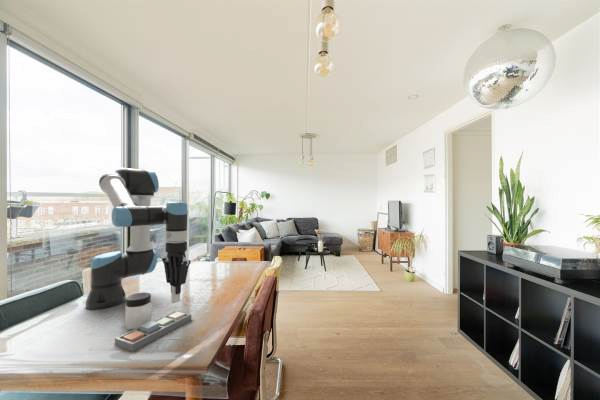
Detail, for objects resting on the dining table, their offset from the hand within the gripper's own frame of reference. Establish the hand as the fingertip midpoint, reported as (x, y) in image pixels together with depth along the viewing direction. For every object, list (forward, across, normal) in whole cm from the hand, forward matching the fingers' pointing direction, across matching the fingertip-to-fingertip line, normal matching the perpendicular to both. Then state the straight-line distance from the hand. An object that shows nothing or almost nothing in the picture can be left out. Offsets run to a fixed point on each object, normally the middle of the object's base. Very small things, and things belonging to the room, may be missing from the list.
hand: (175, 301), depth 99 cm
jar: (+9, -11, -8) cm, 16 cm away
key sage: (+7, +1, -6) cm, 9 cm away
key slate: (+6, +1, -11) cm, 13 cm away
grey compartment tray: (+9, +1, -8) cm, 12 cm away
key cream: (+7, +1, 0) cm, 7 cm away
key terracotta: (+7, +1, -17) cm, 18 cm away
